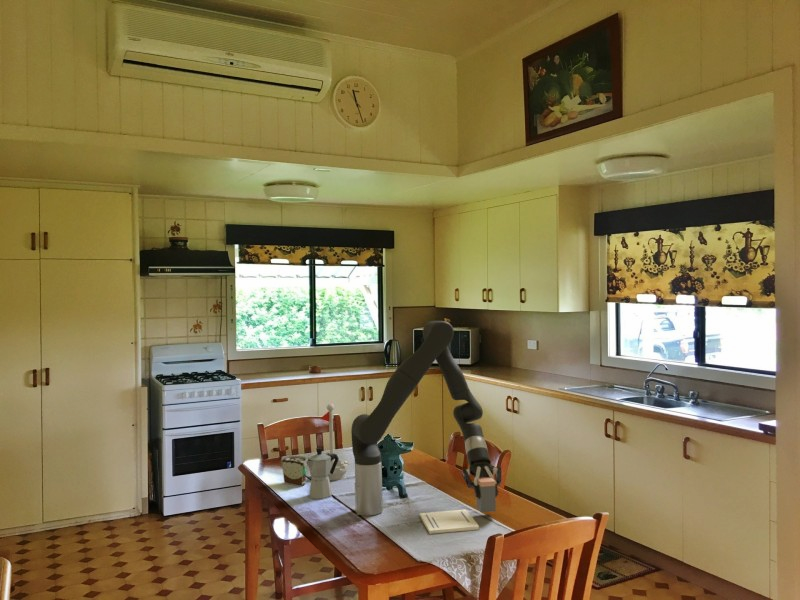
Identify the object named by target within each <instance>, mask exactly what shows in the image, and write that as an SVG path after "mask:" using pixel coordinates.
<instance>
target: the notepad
mask: <svg viewBox="0 0 800 600" xmlns="http://www.w3.org/2000/svg"><path fill="white" fill-rule="evenodd" d="M419 517H420V519H421V520H422V523H423V525H424V526H425V528H426V530H427V532H428V534H430V535H432V534H442V533H443V534H444V533H452V532H453V533H454V532H455V533H456V532H463V531H464V532H465V531H475V530H477V531H478V530H480V525H479V524H478V523H477V521H476V520H475V519H474V518H473V517H472V515H471V514H470V512H469V511H468V510H467V509H466V508H464V509H453V510H443V511H442V510H441V511H432V512H431V511H430V512H422V513H419Z"/></svg>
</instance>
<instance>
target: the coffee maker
mask: <svg viewBox="0 0 800 600" xmlns="http://www.w3.org/2000/svg"><path fill="white" fill-rule="evenodd" d="M315 449H316V454H312V455H311V456H308V457H307V461H306V462H305V463H307V467H308V469H309V474H310V476H311V479H310V486H309V495H308V498H310V499H312V500H325V499H328V498H331V497H332V495H333V492H332V486H331V483H330V482H331V480H329V477H328V475H329V473H331V474H333V472H334V470H335V467H336V465H337V463H338V460H339V459H340V458H339V456H338V455H337V454H336V453H334V454H330V452H327V453H322V452H323V447H316V448H315ZM332 460H334V463H333V465H332V468H331V470H330V463H331V461H332Z"/></svg>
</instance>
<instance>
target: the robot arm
mask: <svg viewBox="0 0 800 600" xmlns="http://www.w3.org/2000/svg"><path fill="white" fill-rule="evenodd" d="M422 336H423V337H422V338H423V340H424V341H423V342H422V344H421V345H420V346H419V348H417V350H416V351H415V352H414V353H412V354H411V355H409V356H408V357H407V358H406V359H404V361H402V362H401V363H400V364H399V366H398V367H396V369H395V370H394V372H393V373H392V374H391V376H390V377H389V379H388V380H387V382H386V385H385V388H384V390H383V394H382V396H381V398H380V401H379V402H378V404H377V406H376V407H375V408H374V409H373V411H372V412H371V413H370V414H367V413H365V414H364V413H363V414H359V415H357V416H356V417H355V418H354V419H353V421H352V424H351V447H352V450H351V451H352V454H353V457H354V477H355V478H354V479H355V480H354V499H355V500H354V501H355V504H354V505H355V506H354V507H355V512H356V514H357V516H358V515H359V516H360V515H361V516H374V515H375V516H376V515H378V514H381V513H383V511H384V507H383V505H384V504H383V502H384V500H383V474H382V473H383V471H382V467H383V466H382V453H381V451H380V449H379V445H378V442H379V441H380V440H381V439H382V437H383V436H384V435H385V433H386V431H387V429H388V428H389V426H390V424H391V423H392V420H393V419H394V417H395V416H396V415H397V413H398V412H399V410H400V409H401V408H402V407H403V405H404V404H405V402H406V400H408V398H410V396H411V395H412V393H413V392H414V390H415V389H416V388H417V386H418V385H419V383H420V381H421V380H422V379H423V377H424V376H425V375H426V374H427V372H428V370H429V369H430V368H431V366H432V365H433V364H434V362H435V361H436V363H437V365H438V367H439V370H440V371H441V373H442V376H443V378H444V381H445V384H446V387H447V389H448V391H449V394H450V397H451V398H452V400H453V401H466V402H465V403H462V404H458V405H456V406H455V407H454V409H453V412H452V415H453V418H454V419H455V422H456V423H457V425H458V426H459V429H460V430H461V433H462V436H463V442H464V447H465V455H466V458H467V462H468V466H469V467H468V468H467V469H466V468H463V469H462V472H461V476H462V478H463V480H464V481H465V483H466V486H467V488H469V489H470V488H472V489H473V490H474V495H475V497H476V499H477V498H478V499H480V497H481V494H480V490H479V486H478V480H477V479H479V478H483V477H489V478H492V479H493V480H494V481H495V499H497V496H499V489H498V486H500V485H501V483H502V467H501V466H498V467H494V465H492V463H491V457H490V454H489V450H488V446H487V443H486V439H485V437H484V434H483V430H482V426H481V425H480V424H479V423H476V422H475V421H478V420H480V419H481V418H482V417H483V414H484V411H483V408H482V406H481V403H479V401H478V400H477V399H476V397H475V396H474V395H473V394H472V392H471V390H470V387H469V385H468V383H467V379H466V378H465V375H464V373H463V371H462V369H461V368H460V366H459V364H458V363H457V362H456V360H455V359H454V357H453V355H452V353H451V351H450V349H449V346H450V344H451V342H452V341H453V338H454V327H453V325H452V324H450V322H447V321H444V320H431V321H427V323H426V324H424V325H423V329H422ZM473 422H474V423H473ZM492 473H494V475H496V476H495V477H494V475H493V474H492ZM470 474H471V476H473V478H474V479H473V480H472V479H471V476H470Z"/></svg>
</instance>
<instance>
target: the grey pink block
mask: <svg viewBox="0 0 800 600" xmlns="http://www.w3.org/2000/svg"><path fill="white" fill-rule="evenodd" d="M477 480H478V486H479V490H480V494H481V497H480V499H478V498H477V497H476V508H477V510H479V512H480V513H490V512H497V511H496V508H497V507H496V504H497V503H496V498H495V481H496V480H495V481H494V480H493V479H492V478H489V477H483V478H479V479H477Z"/></svg>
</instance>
